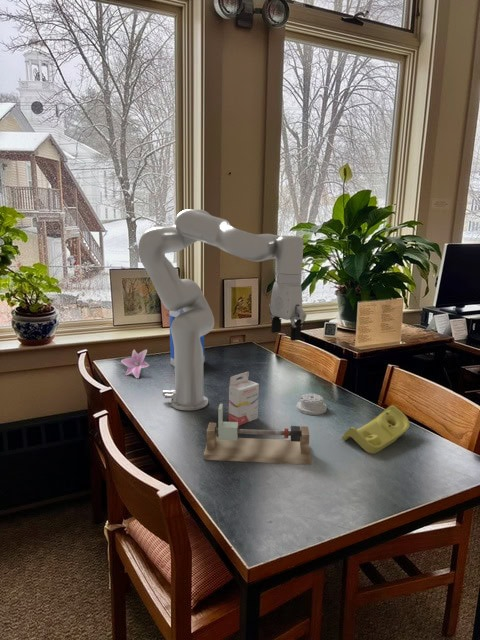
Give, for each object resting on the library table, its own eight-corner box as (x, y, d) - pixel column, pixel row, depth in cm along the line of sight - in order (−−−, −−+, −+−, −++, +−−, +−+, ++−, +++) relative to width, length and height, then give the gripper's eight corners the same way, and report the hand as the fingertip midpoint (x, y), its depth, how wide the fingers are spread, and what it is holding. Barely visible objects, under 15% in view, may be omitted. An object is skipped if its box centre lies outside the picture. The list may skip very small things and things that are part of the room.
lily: (120, 373, 191) (113, 356, 184) (145, 358, 195) (139, 341, 189) (134, 389, 183) (128, 373, 177) (160, 373, 188) (154, 357, 181)
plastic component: (375, 450, 124) (348, 423, 130) (364, 466, 129) (338, 440, 134) (415, 424, 136) (389, 401, 142) (404, 440, 141) (379, 417, 146)
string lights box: (194, 358, 207) (194, 301, 201) (205, 362, 201) (205, 303, 196) (169, 364, 198) (168, 305, 192) (180, 369, 193) (179, 307, 187)
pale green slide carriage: (218, 439, 125) (218, 409, 123) (219, 433, 128) (219, 403, 126) (236, 440, 125) (237, 409, 123) (237, 434, 128) (238, 404, 126)
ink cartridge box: (239, 426, 142) (239, 380, 139) (228, 421, 145) (228, 376, 142) (258, 418, 148) (259, 374, 144) (247, 413, 151) (248, 370, 148)
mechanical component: (295, 414, 152) (326, 417, 150) (295, 401, 151) (326, 404, 149) (297, 402, 161) (327, 405, 159) (298, 390, 160) (327, 392, 158)
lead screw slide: (203, 459, 123) (203, 433, 121) (208, 441, 133) (208, 416, 131) (311, 464, 121) (312, 438, 119) (308, 445, 131) (309, 420, 129)
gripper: (261, 275, 141) (259, 330, 145) (295, 284, 127) (292, 344, 131) (281, 274, 145) (279, 328, 149) (317, 282, 130) (313, 341, 134)
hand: (285, 335), depth 140 cm, fingers open, 9 cm apart
